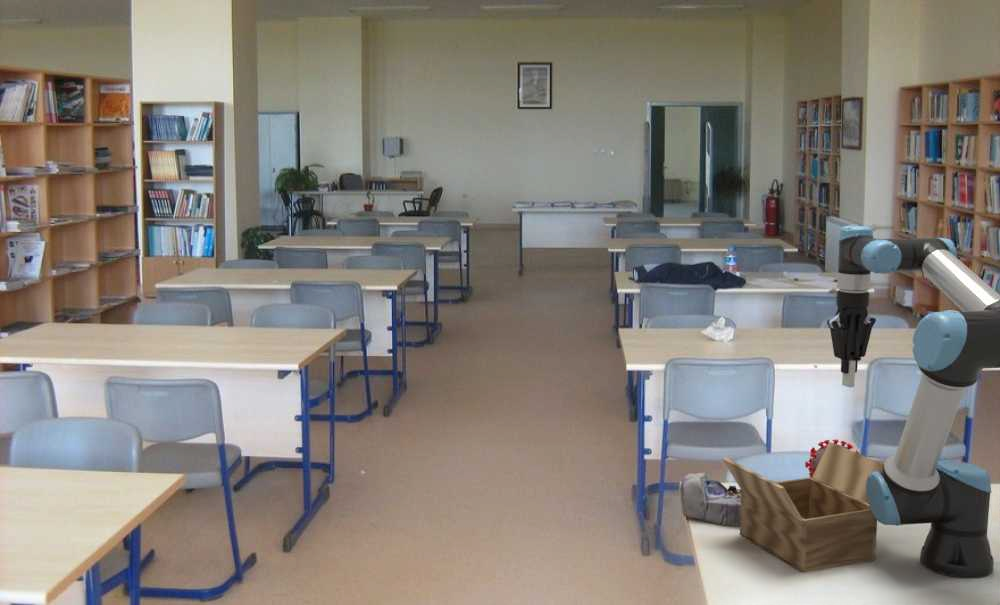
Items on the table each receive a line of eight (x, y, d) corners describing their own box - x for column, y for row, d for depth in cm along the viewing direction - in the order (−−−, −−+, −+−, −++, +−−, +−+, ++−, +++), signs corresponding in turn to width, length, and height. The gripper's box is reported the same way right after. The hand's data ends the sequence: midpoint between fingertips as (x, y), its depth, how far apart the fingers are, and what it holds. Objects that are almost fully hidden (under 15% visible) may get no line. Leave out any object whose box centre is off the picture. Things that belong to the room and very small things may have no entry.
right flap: (876, 508, 247) (878, 509, 247) (895, 469, 247) (897, 470, 248) (811, 477, 268) (813, 478, 269) (829, 441, 269) (831, 442, 269)
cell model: (683, 465, 282) (763, 473, 277) (681, 505, 284) (760, 513, 279) (679, 481, 269) (763, 489, 265) (677, 523, 271) (760, 532, 267)
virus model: (873, 500, 288) (876, 445, 285) (822, 505, 284) (825, 449, 281) (842, 483, 301) (845, 430, 299) (793, 487, 298) (796, 434, 295)
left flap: (783, 487, 236) (781, 488, 236) (803, 519, 240) (801, 521, 240) (724, 456, 258) (722, 458, 258) (742, 487, 261) (740, 488, 261)
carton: (874, 559, 249) (877, 509, 247) (801, 572, 241) (804, 520, 239) (808, 524, 271) (810, 477, 269) (739, 535, 263) (741, 487, 261)
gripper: (864, 286, 269) (859, 380, 273) (820, 289, 265) (816, 384, 268) (885, 291, 263) (880, 387, 266) (841, 294, 258) (836, 391, 262)
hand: (848, 385), depth 267 cm, fingers closed
